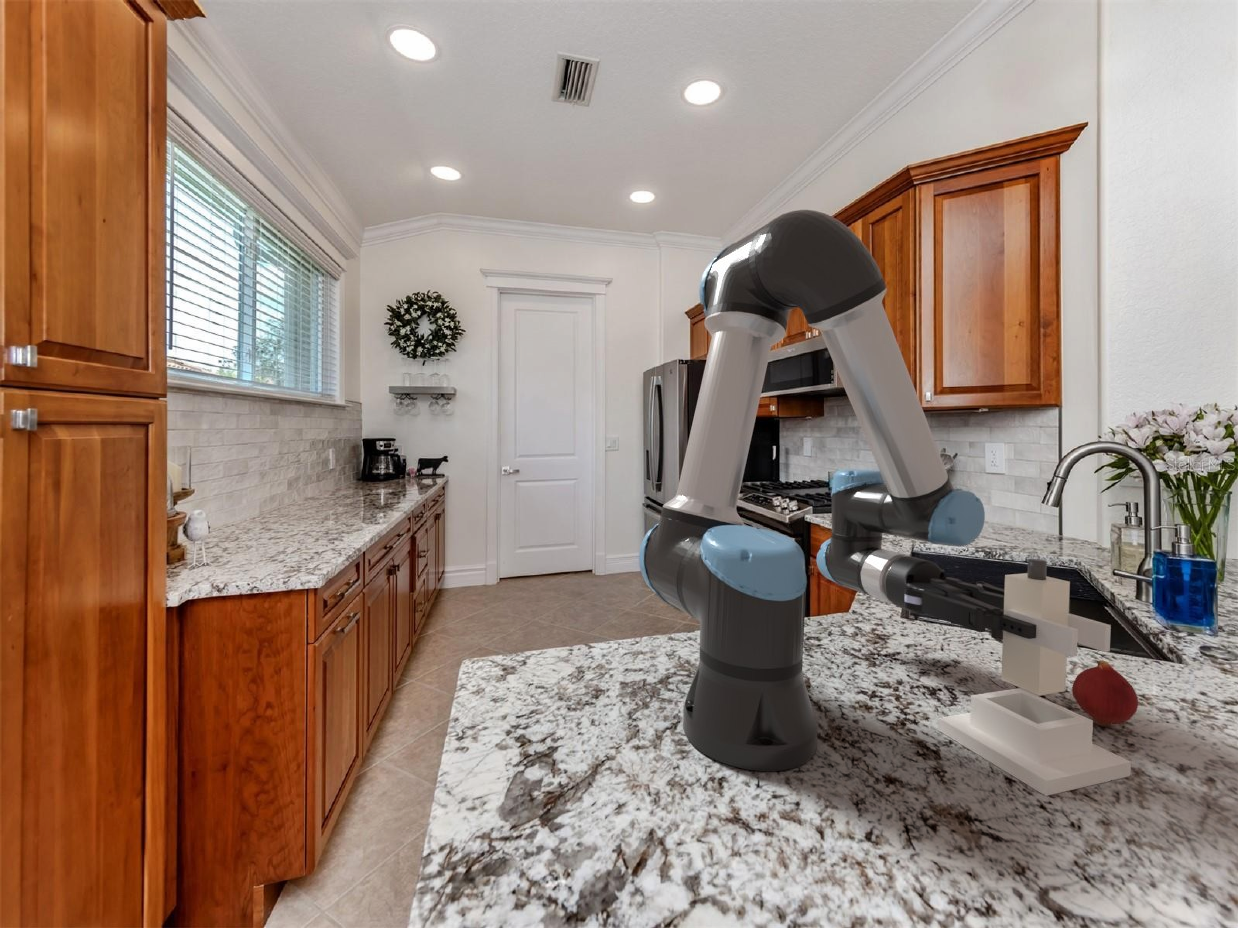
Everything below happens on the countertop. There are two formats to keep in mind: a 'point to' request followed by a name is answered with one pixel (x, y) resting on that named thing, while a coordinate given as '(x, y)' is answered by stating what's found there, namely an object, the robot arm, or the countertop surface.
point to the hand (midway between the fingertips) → (1090, 640)
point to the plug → (1025, 659)
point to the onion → (1105, 695)
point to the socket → (1034, 741)
